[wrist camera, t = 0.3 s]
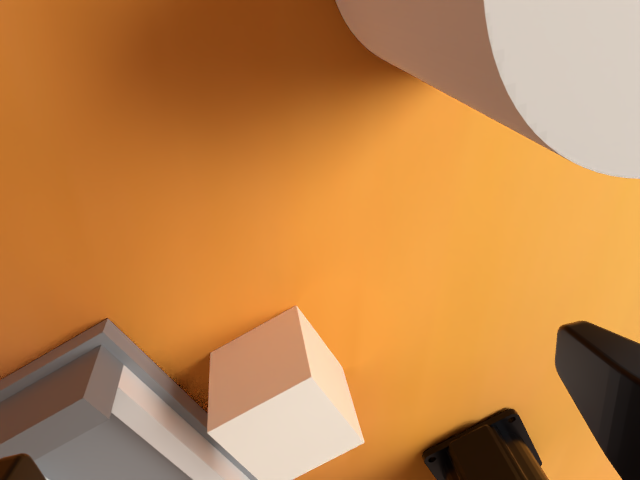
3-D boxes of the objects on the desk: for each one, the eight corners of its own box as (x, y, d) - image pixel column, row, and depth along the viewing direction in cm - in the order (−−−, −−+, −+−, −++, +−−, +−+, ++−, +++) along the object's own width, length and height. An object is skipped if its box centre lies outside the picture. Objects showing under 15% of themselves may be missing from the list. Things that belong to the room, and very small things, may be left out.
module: (341, 366, 26) (364, 442, 22) (260, 409, 27) (267, 492, 23) (296, 304, 24) (311, 376, 20) (208, 353, 24) (203, 434, 20)
